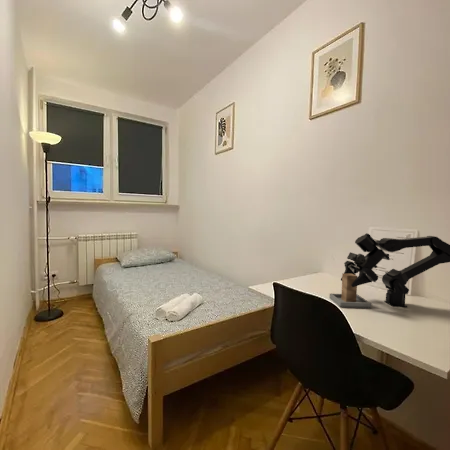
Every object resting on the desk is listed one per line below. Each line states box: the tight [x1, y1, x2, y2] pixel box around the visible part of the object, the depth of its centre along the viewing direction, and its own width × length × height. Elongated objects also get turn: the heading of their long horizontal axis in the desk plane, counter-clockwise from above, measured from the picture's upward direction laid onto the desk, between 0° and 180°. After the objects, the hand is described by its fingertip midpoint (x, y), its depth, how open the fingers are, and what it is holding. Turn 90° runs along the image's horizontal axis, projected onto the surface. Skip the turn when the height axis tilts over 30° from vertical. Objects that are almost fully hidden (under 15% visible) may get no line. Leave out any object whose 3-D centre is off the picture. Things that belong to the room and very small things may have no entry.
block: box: [340, 272, 358, 302], centre depth 114 cm, size 4×4×12 cm
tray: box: [329, 293, 372, 309], centre depth 113 cm, size 13×12×2 cm
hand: (346, 283), depth 114 cm, fingers open, 9 cm apart
